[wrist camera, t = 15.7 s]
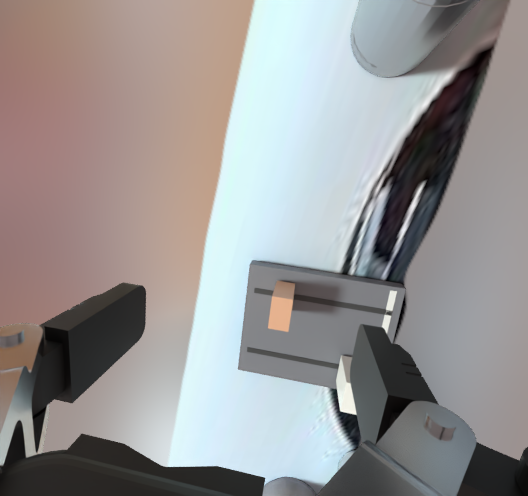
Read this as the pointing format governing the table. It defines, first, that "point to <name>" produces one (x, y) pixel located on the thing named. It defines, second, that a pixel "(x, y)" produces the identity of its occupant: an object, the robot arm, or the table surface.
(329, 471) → the table surface
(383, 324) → the fader panel
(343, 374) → the cream fader
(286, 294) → the block
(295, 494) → the pillar candle
